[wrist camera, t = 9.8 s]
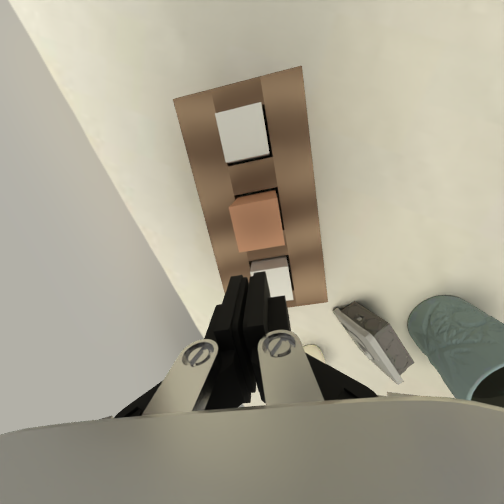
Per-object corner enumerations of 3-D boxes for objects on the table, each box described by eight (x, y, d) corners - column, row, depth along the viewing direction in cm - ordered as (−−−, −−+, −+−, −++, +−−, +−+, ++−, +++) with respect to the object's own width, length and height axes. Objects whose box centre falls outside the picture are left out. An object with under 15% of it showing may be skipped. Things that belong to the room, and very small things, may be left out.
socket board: (189, 110, 27) (172, 99, 22) (295, 83, 26) (301, 65, 21) (235, 295, 35) (230, 315, 30) (319, 282, 33) (327, 302, 29)
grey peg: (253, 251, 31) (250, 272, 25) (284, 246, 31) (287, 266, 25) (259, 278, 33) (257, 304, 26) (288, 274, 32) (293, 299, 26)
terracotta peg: (238, 197, 26) (228, 207, 19) (275, 189, 25) (277, 197, 19) (245, 232, 27) (239, 252, 21) (281, 226, 26) (284, 245, 20)
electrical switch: (330, 308, 35) (355, 346, 27) (358, 291, 34) (392, 325, 26) (358, 347, 37) (388, 393, 29) (385, 331, 36) (424, 374, 28)
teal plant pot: (437, 278, 32) (528, 339, 21) (495, 311, 33) (613, 386, 22) (387, 332, 35) (443, 410, 24) (442, 360, 36) (519, 447, 25)
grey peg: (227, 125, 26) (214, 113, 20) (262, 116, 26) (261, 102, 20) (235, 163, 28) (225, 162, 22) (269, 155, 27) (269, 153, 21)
